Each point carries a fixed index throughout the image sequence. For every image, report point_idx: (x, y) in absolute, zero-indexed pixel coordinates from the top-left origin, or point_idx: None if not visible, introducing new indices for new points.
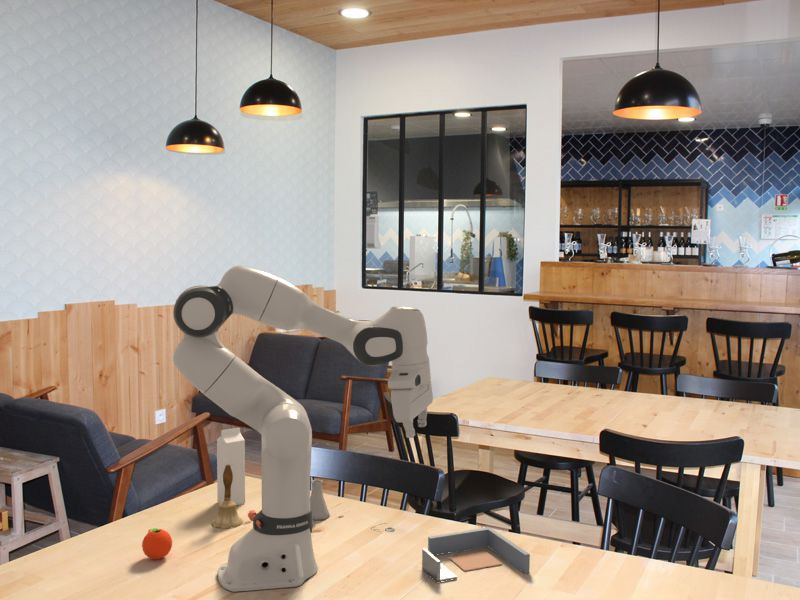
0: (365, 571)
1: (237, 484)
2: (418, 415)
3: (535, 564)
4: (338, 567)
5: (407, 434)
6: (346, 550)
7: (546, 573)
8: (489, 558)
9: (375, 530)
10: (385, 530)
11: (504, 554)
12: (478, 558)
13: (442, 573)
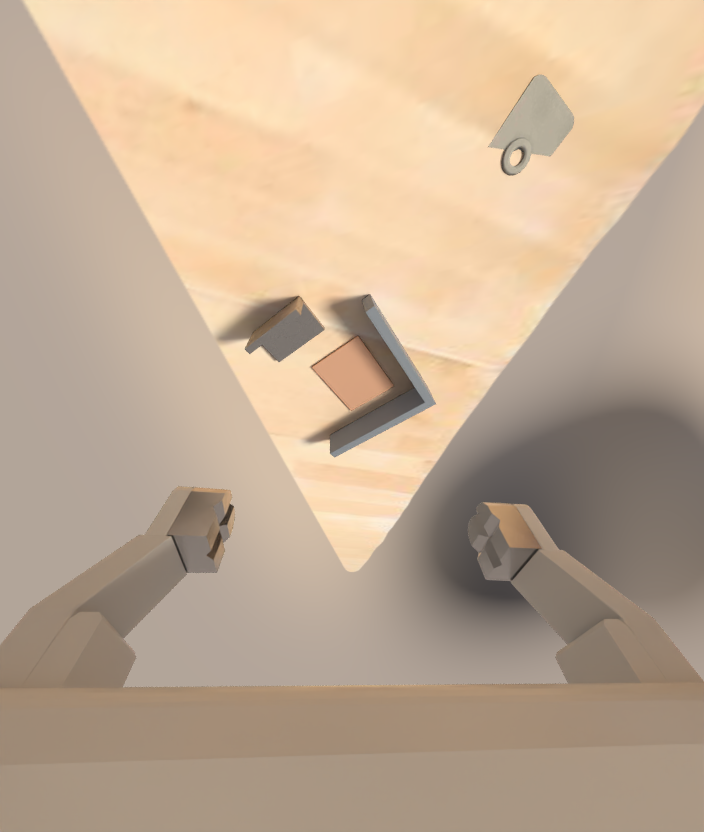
0: (239, 156)
1: None
2: (574, 578)
3: None
4: (228, 41)
5: (169, 510)
6: (357, 26)
7: None
8: (366, 394)
9: (517, 102)
10: (511, 143)
11: (374, 414)
12: (363, 380)
13: (282, 338)
